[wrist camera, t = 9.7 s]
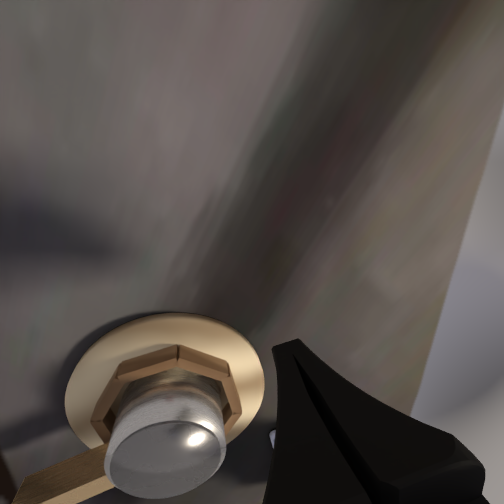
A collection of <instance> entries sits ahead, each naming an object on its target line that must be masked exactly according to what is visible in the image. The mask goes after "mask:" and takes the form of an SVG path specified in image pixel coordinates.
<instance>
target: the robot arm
mask: <svg viewBox="0 0 504 504" xmlns="http://www.w3.org/2000/svg"><path fill="white" fill-rule="evenodd" d="M272 353H273V357H274V362H275V366H276V371H277V385H278V405H277V422H276V430H273V431H271V432H270V439H271V443H272V446H273V455H272V461H271V466H270V472H269V477H268V482H267V486H266V491H265V495H264V499H263V503H262V504H490V503H489V502H488V501H487V500H486V499H485V497H484V496H483V495H482V491H483V486H484V482H485V468H484V466H483V465H482V463H481V462H480V461H479V460H478V459H477V458H476V457H475V456H474V455H473V454H472V452H471V451H469V450H468V449H467V448H466V447H465V446H464V445H463V444H462V443H461V442H460V441H459V440H458V439H457V438H455V437H454V436H453V435H452V434H449V433H447V432H445V431H442V430H440V429H437V428H434V427H432V426H429V425H427V424H424V423H422V422H420V421H418V420H415V419H414V418H411V417H409V416H407V415H405V414H403V413H401V412H399V411H397V410H395V409H394V408H392V407H390V406H388V405H386V404H384V403H382V402H380V401H379V400H377V399H375V398H374V397H372V396H370V395H369V394H367V393H365V392H364V391H362V390H361V389H359V388H358V387H356V386H355V385H353V384H352V383H350V382H349V381H347V380H346V379H345V378H343V377H342V376H341V375H339V374H338V373H337V372H335V371H334V370H333V369H332V368H330V367H329V366H328V365H327V364H326V363H324V362H323V361H322V360H321V359H320V358H319V357H317V356H316V355H315V354H314V353H313V352H312V351H311V350H310V349H309V348H308V347H307V346H306V345H305V344H304V343H303V342H302V341H301V340H300V339H295V340H292V341H289V342H285V343H282V344H279V345H276V346H273V348H272Z"/></svg>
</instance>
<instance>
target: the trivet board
mask: <svg viewBox="0 0 504 504" xmlns="http://www.w3.org/2000/svg"><path fill="white" fill-rule="evenodd" d="M175 367H179V368H182V369H185V370H188V371H191V372H194V373H197V374H200V375H204V376H207V377H210V378H213V379H214V380H215V382H216V383H217V385H218V387H219V391H220V398H221V406H222V415H223V423H224V432H225V440H226V444H228V443H229V442H231V441H232V440H233V439H235V438H236V437H237V436H238V435H239V434H240V433H241V432H242V431H243V430H244V429H245V428H246V427H247V426H248V425H249V424H250V422H251V421H252V419H253V418H254V416H255V415H256V413H257V411H258V409H259V407H260V405H261V401H262V398H263V393H264V375H263V370H262V367H261V364H260V361H259V358H258V355H257V353H256V351H255V350H254V348H253V346H252V345H251V344H250V342H249V341H248V340H247V339H246V338H245V337H244V336H243V335H242V334H241V333H240V332H239V331H237V330H236V329H234V328H233V327H231V326H229V325H227V324H225V323H223V322H221V321H219V320H216V319H213V318H210V317H207V316H203V315H198V314H190V313H163V314H155V315H150V316H146V317H142V318H138V319H135V320H132V321H130V322H127V323H125V324H123V325H120V326H118V327H116V328H114V329H113V330H111V331H110V332H108V333H106V334H105V335H103V336H102V337H101V338H100V339H98V340H97V341H96V342H95V343H94V344H92V345H91V347H90V348H89V349H88V350H87V351H86V352H85V353H84V355H83V356H82V358H81V359H80V361H79V362H78V364H77V366H76V368H75V369H74V371H73V373H72V375H71V378H70V380H69V382H68V385H67V389H66V393H65V410H66V416H67V419H68V421H69V424H70V426H71V428H72V429H73V431H74V433H75V434H76V435H77V436H78V438H79V439H80V440H81V441H82V442H83V443H84V444H86V445H87V446H88V447H89V448H90V449H93V448H95V447H98V446H100V445H102V444H105V443H107V442H109V441H110V438H111V434H112V431H113V427H114V423H115V420H116V416H117V413H118V409H119V405H120V402H121V398H122V396H123V393H124V391H125V390H126V388H127V387H128V386H129V384H130V383H131V382H132V381H134V380H137V379H140V378H143V377H146V376H150V375H153V374H156V373H159V372H162V371H165V370H168V369H172V368H175Z"/></svg>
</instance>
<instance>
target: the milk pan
mask: <svg viewBox="0 0 504 504" xmlns="http://www.w3.org/2000/svg"><path fill="white" fill-rule="evenodd" d="M225 454H226V440H225V432H224V423H223V415H222V406H221V398H220V391H219V387H218V385H217V383H216V382H215V380H214V379H213V378H210V377H207V376H204V375H200V374H197V373H194V372H191V371H188V370H185V369H182V368H179V367H175V368H172V369H168V370H165V371H162V372H159V373H156V374H153V375H150V376H146V377H143V378H140V379H137V380H134V381H132V382H131V383H130V384H129V386H128V387H127V388H126V390H125V391H124V393H123V396H122V398H121V402H120V405H119V409H118V413H117V416H116V420H115V423H114V427H113V431H112V434H111V438H110V441H109V442H107V443H105V444H102V445H100V446H98V447H95V448H93V449H90V450H88V451H86V452H83V453H81V454H79V455H76V456H74V457H71V458H69V459H67V460H64V461H62V462H60V463H57V464H55V465H53V466H50V467H48V468H45V469H43V470H41V471H38V472H36V473H34V474H31V475H29V476H27V477H25V478H24V480H23V482H22V484H21V486H20V488H19V490H18V492H17V494H16V496H15V498H14V500H13V503H12V504H76V503H79V502H81V501H83V500H86V499H88V498H90V497H93V496H95V495H97V494H99V493H102V492H104V491H106V490H109V489H111V488H113V487H117V488H118V489H120V490H121V491H124V492H125V493H127V494H130V495H133V496H136V497H140V498H148V499H158V498H167V497H172V496H177V495H180V494H183V493H185V492H188V491H190V490H192V489H194V488H196V487H198V486H199V485H201V484H202V483H204V482H205V481H206V480H208V479H209V478H210V477H211V476H212V475H213V474H214V473H215V472H216V471H217V470H218V469H219V467H220V466H221V464H222V462H223V460H224V458H225Z"/></svg>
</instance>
